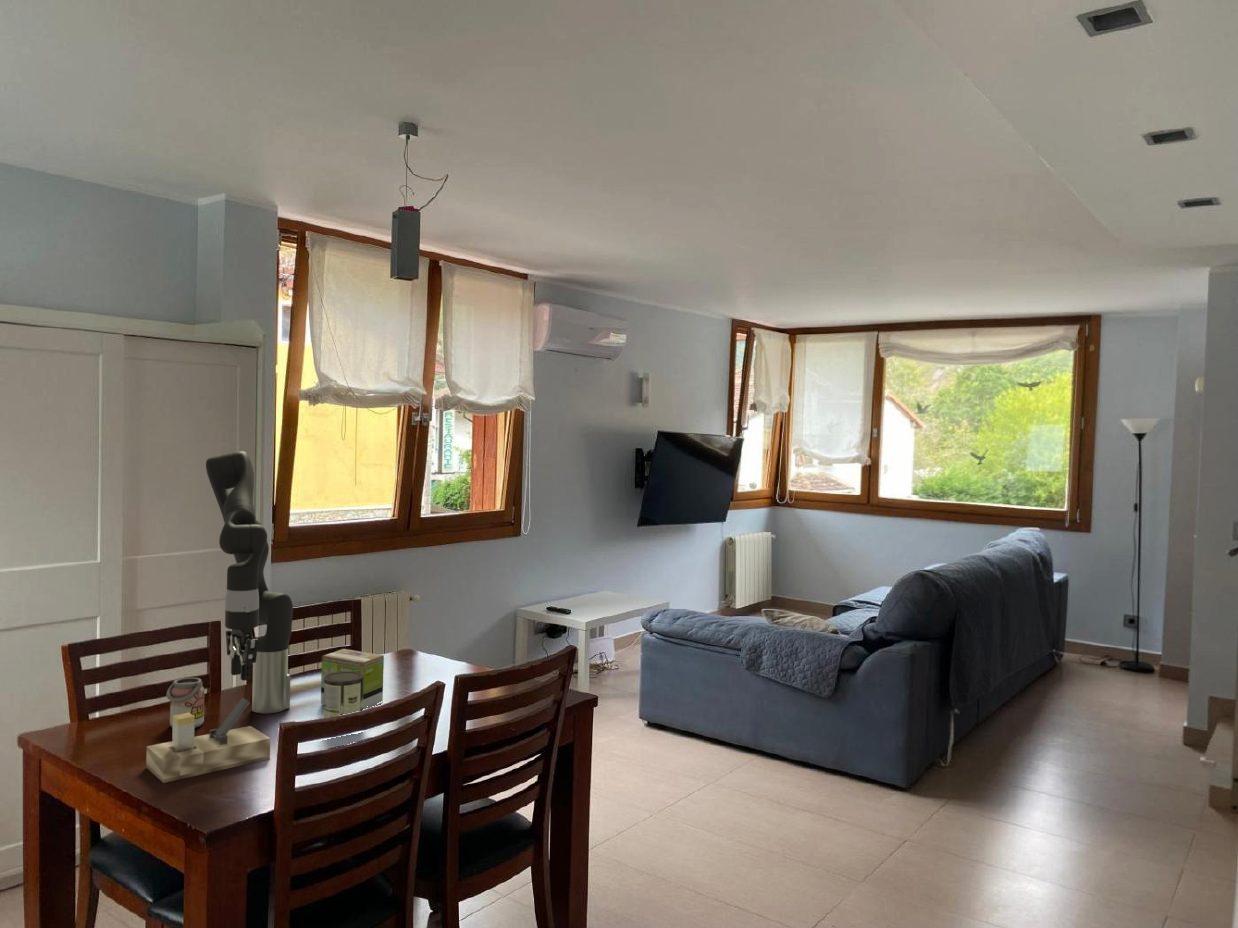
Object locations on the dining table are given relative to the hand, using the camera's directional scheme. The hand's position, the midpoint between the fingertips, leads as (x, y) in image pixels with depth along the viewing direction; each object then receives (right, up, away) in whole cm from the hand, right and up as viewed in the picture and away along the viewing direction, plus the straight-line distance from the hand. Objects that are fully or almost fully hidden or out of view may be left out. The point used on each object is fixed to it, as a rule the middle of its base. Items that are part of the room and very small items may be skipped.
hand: (240, 676), depth 218 cm
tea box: (+13, -19, +45) cm, 51 cm away
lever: (-1, -10, -1) cm, 11 cm away
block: (-6, -19, -4) cm, 21 cm away
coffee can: (+17, -20, +24) cm, 35 cm away
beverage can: (-24, -18, +21) cm, 37 cm away
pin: (-10, -19, -8) cm, 23 cm away
